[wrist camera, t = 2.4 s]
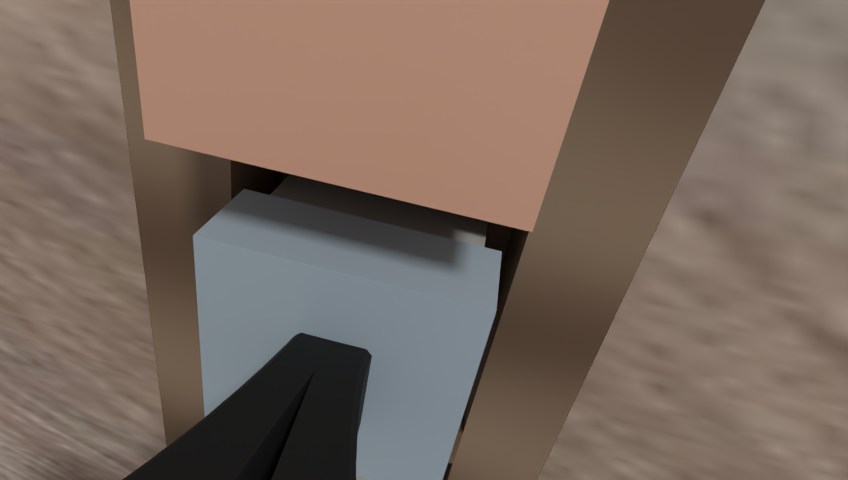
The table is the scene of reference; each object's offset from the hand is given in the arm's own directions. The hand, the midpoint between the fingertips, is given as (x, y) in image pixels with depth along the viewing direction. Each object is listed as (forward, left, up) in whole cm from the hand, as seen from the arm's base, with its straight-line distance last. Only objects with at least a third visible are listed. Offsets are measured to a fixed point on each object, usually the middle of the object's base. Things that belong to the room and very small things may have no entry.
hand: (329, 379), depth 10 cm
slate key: (0, 0, -3) cm, 3 cm away
